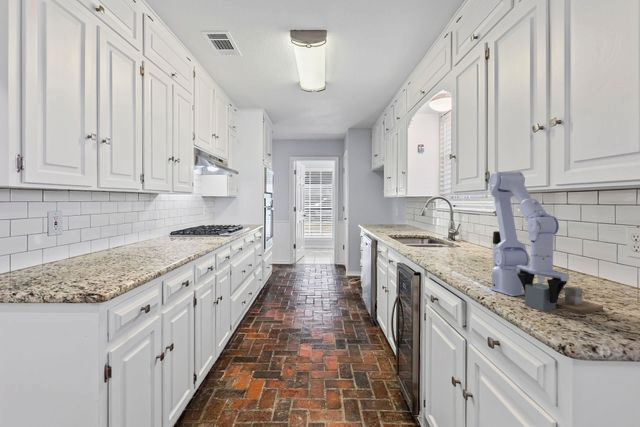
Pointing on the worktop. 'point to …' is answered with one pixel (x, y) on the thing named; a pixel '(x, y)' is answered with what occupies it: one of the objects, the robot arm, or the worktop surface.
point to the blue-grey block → (538, 297)
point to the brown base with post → (576, 302)
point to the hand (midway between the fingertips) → (540, 298)
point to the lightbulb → (540, 279)
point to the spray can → (495, 241)
